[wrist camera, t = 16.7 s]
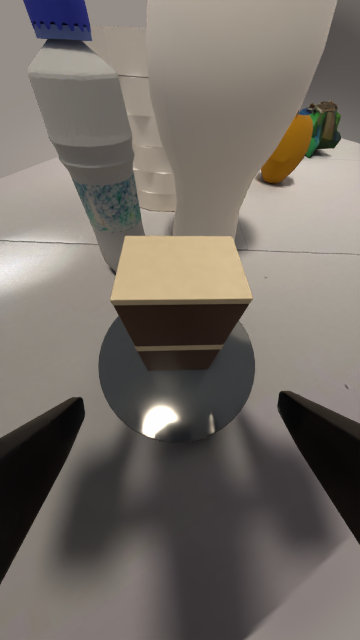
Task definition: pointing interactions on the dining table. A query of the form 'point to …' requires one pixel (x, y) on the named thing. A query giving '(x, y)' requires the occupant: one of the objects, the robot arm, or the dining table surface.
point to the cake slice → (179, 297)
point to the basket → (138, 112)
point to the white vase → (227, 94)
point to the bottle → (86, 121)
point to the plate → (175, 388)
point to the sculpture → (323, 126)
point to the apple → (289, 150)
